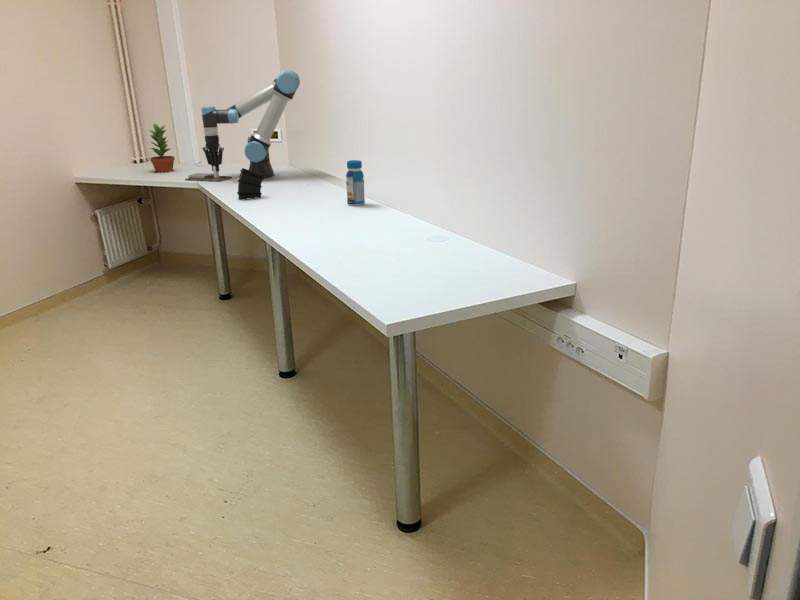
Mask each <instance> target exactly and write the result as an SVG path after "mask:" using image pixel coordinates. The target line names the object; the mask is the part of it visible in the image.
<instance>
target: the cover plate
mask: <svg viewBox="0 0 800 600" xmlns="http://www.w3.org/2000/svg"><path fill="white" fill-rule="evenodd" d="M187 176H188V178H189V179H212V178H214V173H208V172H207V173H206V172H197V173H193V174H189V175H187Z"/></svg>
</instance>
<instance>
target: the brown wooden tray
mask: <svg viewBox="0 0 800 600" xmlns="http://www.w3.org/2000/svg"><path fill="white" fill-rule="evenodd" d="M230 179H233V175H219V177H217V178H215V177H214V178H212V179H189V178H184V181H187V182H188V181H191V182H192V181H193V182H208V183H209V182H210V183H211V182H212V183H221V182H223V181H224V182H225V181H227V180H230Z"/></svg>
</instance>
